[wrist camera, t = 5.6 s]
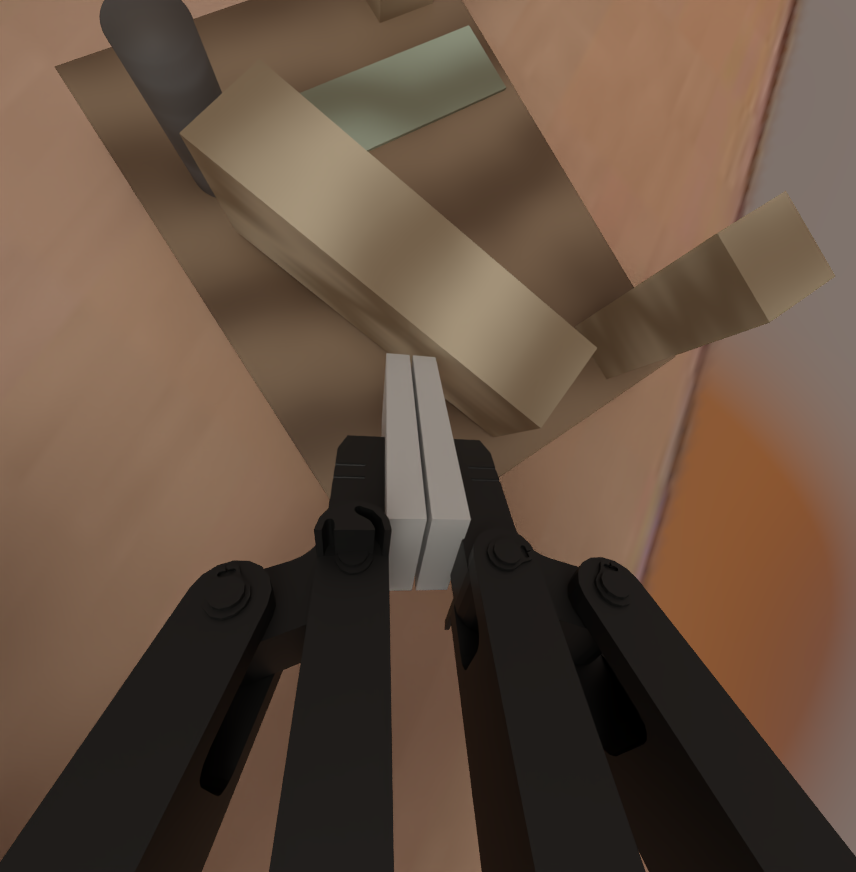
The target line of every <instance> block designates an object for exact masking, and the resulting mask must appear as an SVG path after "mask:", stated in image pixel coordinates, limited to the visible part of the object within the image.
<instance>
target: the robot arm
mask: <svg viewBox="0 0 856 872" xmlns="http://www.w3.org/2000/svg"><path fill="white" fill-rule="evenodd" d="M314 534H315V543H316V545H315V546H314V547H313V548H312V549H311V550H310V551H309V552H307V553H306V554H304V555H303V556H301V557H299V558H296V559H294V560H292V561H289V562H285V563H282V564H279V565H275V566H272V567H269V568H265V569H263V568H262V566H260V565H257V564H255V563H253V562H250V561H231V562H228V563H224V564H221V565H217V566H216V567H214V568H213V569H211V570H209V571H208V572H206V573H204V574H203V575H202V576H201V577H200V578H199V579H198V580H197V581H196V582H195V583H194V584H193V585H192V586H191V587H190V588H189V590H188V591H187V593H186V594H185V596H184V597H183V598H182V600H181V601H180V603H179V604H178V606H177V607H176V609H175V610H174V611H173V613H172V614H171V616H170V617H169V619H168V620H167V622H166V623H165V625H164V626H163V627H162V629H161V630H160V632H159V633H158V635H157V636H156V638H155V639H154V640H153V642H152V643H151V645H150V646H149V648H148V649H147V651H146V652H145V653H144V655H143V656H142V658H141V659H140V661H139V662H138V664H137V665H136V666H135V668H134V669H133V671H132V672H131V674H130V675H129V677H128V678H127V679H126V681H125V682H124V684H123V685H122V687H121V688H120V690H119V691H118V692H117V694H116V695H115V697H114V698H113V700H112V701H111V703H110V704H109V706H108V707H107V708H106V710H105V711H104V713H103V714H102V716H101V717H100V719H99V720H98V721H97V723H96V724H95V726H94V727H93V729H92V730H91V732H90V733H89V734H88V736H87V737H86V739H85V740H84V742H83V743H82V745H81V746H80V747H79V749H78V750H77V752H76V753H75V755H74V756H73V758H72V759H71V760H70V762H69V763H68V765H67V766H66V768H65V769H64V771H63V772H62V773H61V775H60V776H59V778H58V779H57V781H56V782H55V784H54V785H53V787H52V788H51V789H50V791H49V792H48V794H47V795H46V797H45V798H44V800H43V801H42V802H41V804H40V805H39V807H38V808H37V810H36V811H35V813H34V814H33V815H32V817H31V818H30V820H29V821H28V823H27V824H26V826H25V827H24V828H23V830H22V831H21V833H20V834H19V836H18V837H17V839H16V840H15V841H14V843H13V844H12V846H11V847H10V849H9V850H8V852H7V853H6V854H5V856H4V857H3V859H2V860H1V862H0V872H202V870H203V867H204V865H205V862H206V860H207V857H208V855H209V852H210V850H211V847H212V845H213V842H214V840H215V837H216V835H217V832H218V830H219V827H220V825H221V822H222V820H223V818H224V815H225V813H226V810H227V808H228V805H229V803H230V800H231V798H232V795H233V793H234V790H235V788H236V785H237V783H238V780H239V778H240V775H241V773H242V770H243V768H244V765H245V763H246V761H247V758H248V756H249V753H250V751H251V748H252V746H253V743H254V741H255V738H256V736H257V733H258V731H259V728H260V726H261V723H262V721H263V718H264V716H265V713H266V711H267V708H268V706H269V704H270V701H271V699H272V696H273V694H274V691H275V689H276V686H277V684H278V681H279V679H280V676H281V674H282V671H283V670H284V669H287V668H289V667H291V666H294V665H296V664H299V663H301V665H300V672H299V678H298V685H297V691H296V698H295V705H294V711H293V718H292V724H291V731H290V737H289V744H288V751H287V757H286V764H285V770H284V777H283V784H282V790H281V797H280V803H279V810H278V817H277V823H276V830H275V836H274V843H273V850H272V856H271V863H270V869H269V872H394V851H393V790H392V728H391V666H390V604H389V591H402V590H412V586H413V581H414V577H415V585H416V590H447V588H448V585H449V583H450V580H451V584H452V591H453V601H452V603H451V606H450V609H449V611H448V614H447V617H446V619H445V630H449V629H450V626H452V634H453V642H454V650H455V658H456V667H457V675H458V683H459V691H460V699H461V707H462V715H463V723H464V731H465V739H466V747H467V755H468V763H469V771H470V779H471V788H472V796H473V804H474V812H475V820H476V828H477V836H478V844H479V852H480V860H481V868H482V872H645V869H644V866H643V863H642V860H641V857H642V858H643V860H644V863H645V864H646V867H647V869H648V871H649V872H856V857H855V855H854V854H853V853H852V852H851V850H850V849H849V848H848V846H847V845H846V844H845V842H844V841H843V840H842V839H841V838H840V836H839V835H838V834H837V832H836V831H835V830H834V828H833V827H832V826H831V825H830V823H829V822H828V821H827V820H826V818H825V817H824V816H823V814H822V813H821V812H820V811H819V810H818V808H817V807H816V806H815V804H814V803H813V802H812V801H811V799H810V798H809V797H808V795H807V794H806V793H805V792H804V790H803V789H802V788H801V786H800V785H799V784H798V783H797V781H796V780H795V779H794V778H793V776H792V775H791V774H790V773H789V771H788V770H787V769H786V768H785V766H784V765H783V764H782V762H781V761H780V760H779V759H778V757H777V756H776V755H775V754H774V752H773V751H772V750H771V748H770V747H769V746H768V745H767V743H766V742H765V741H764V739H763V738H762V737H761V736H760V734H759V733H758V732H757V731H756V729H755V728H754V727H753V726H752V724H751V723H750V722H749V720H748V719H747V718H746V717H745V715H744V714H743V713H742V712H741V710H740V709H739V708H738V706H737V705H736V704H735V703H734V701H733V700H732V699H731V698H730V696H729V695H728V694H727V692H726V691H725V690H724V689H723V687H722V686H721V685H720V684H719V682H718V681H717V680H716V678H715V677H714V676H713V675H712V673H711V672H710V671H709V669H708V668H707V667H706V666H705V664H704V663H703V662H702V661H701V659H700V658H699V657H698V656H697V654H696V653H695V652H694V650H693V649H692V648H691V647H690V645H689V644H688V643H687V641H686V640H685V639H684V638H683V636H682V635H681V634H680V633H679V631H678V630H677V629H676V627H675V626H674V625H673V624H672V622H671V621H670V620H669V619H668V617H667V616H666V615H665V613H664V612H663V611H662V610H661V608H660V607H659V606H658V605H657V603H656V602H655V601H654V599H653V598H652V597H651V596H650V594H649V593H648V592H647V591H646V589H645V588H644V587H643V585H642V584H641V583H640V582H639V580H638V579H637V578H636V577H635V576H634V575H633V574H632V573H631V572H630V571H629V570H628V569H626V568H625V567H623V566H622V565H620V564H618V563H617V562H615V561H612V560H609V559H606V558H603V557H597V558H589V559H588V560H586V561H584V562H583V563H582V564H581V565H580V566H579V567H577V566H573V565H570V564H567V563H563V562H560V561H557V560H554V559H550V558H548V557H545V556H543V555H540V554H539V553H537V552H536V551H534V550H533V548H532V546H531V545H530V544H529V543H528V542H527V541H526V540H525V539H524V538H523V537H522V536H521V535H519V534H518V533H517V531H516V529H515V526H514V523H513V520H512V517H511V514H510V511H509V508H508V505H507V502H506V499H505V496H504V492H503V489H502V486H501V483H500V482H499V477H498V474H497V471H496V470H495V465H494V462H493V459H492V455H491V453H490V452H489V450H488V449H487V448H486V447H485V446H484V445H483V443H482V442H481V441H480V440H466V439H453V435H452V431H451V426H450V421H449V417H448V412H447V408H446V403H445V398H444V394H443V389H442V385H441V380H440V376H439V371H438V366H437V362H436V357H428V356H416V355H413V357H412V366H411V363H410V355H404V354H391V353H386V366H385V381H384V395H383V410H382V437H377V436H355V435H347V437H346V438H345V439H344V440H343V442H342V443H341V444H340V445H339V447H338V449H337V455H336V462H335V468H334V475H333V482H332V488H331V495H330V501H329V508H328V510H327V511H326V512H324V513H323V514H322V515H321V516H320V517H319V519H318V522H317V524H316V526H315V529H314ZM639 853H640V854H639ZM640 855H641V857H640Z"/></svg>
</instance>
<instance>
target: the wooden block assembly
mask: <svg viewBox="0 0 856 872" xmlns="http://www.w3.org/2000/svg"><path fill="white" fill-rule="evenodd" d="M100 24H101V28H102V30H103V33H104V35H105V36H106V38H107V40H108V41H109V43H110V45H111V46H112V47H110V48H108V49H105V50H102V51H99V52H96V53H93V54H90V55H87V56H84V57H81V58H78V59H75V60H72V61H69V62H67V63H64V64H61V65H58V66H55V68H56V70H57V71H58V73H59V75H60V76H61V78H62V79H63V81H64V82H65V84H66V86H67V87H68V89H69V90H70V92H71V93H72V95H73V97H74V98H75V100H76V101H77V103H78V104H79V106H80V108H81V109H82V111H83V112H84V114H85V115H86V117H87V119H88V120H89V122H90V123H91V125H92V126H93V128H94V130H95V131H96V133H97V134H98V136H99V137H100V139H101V141H102V142H103V144H104V145H105V147H106V148H107V150H108V152H109V153H110V155H111V156H112V158H113V159H114V161H115V163H116V164H117V166H118V167H119V169H120V170H121V172H122V174H123V175H124V177H125V178H126V180H127V181H128V183H129V185H130V186H131V188H132V189H133V191H134V192H135V194H136V196H137V197H138V199H139V200H140V202H141V203H142V205H143V207H144V208H145V210H146V211H147V213H148V214H149V216H150V218H151V219H152V221H153V222H154V224H155V225H156V227H157V229H158V230H159V232H160V233H161V235H162V236H163V238H164V240H165V241H166V243H167V244H168V246H169V247H170V249H171V251H172V252H173V254H174V255H175V257H176V259H177V260H178V262H179V263H180V265H181V266H182V268H183V270H184V271H185V273H186V274H187V276H188V277H189V279H190V281H191V282H192V284H193V285H194V287H195V288H196V290H197V292H198V293H199V295H200V296H201V298H202V299H203V301H204V303H205V304H206V306H207V307H208V309H209V310H210V312H211V314H212V315H213V317H214V318H215V320H216V321H217V323H218V325H219V326H220V328H221V329H222V331H223V332H224V334H225V336H226V337H227V339H228V340H229V342H230V343H231V345H232V347H233V348H234V350H235V351H236V353H237V354H238V356H239V358H240V359H241V361H242V362H243V364H244V365H245V367H246V369H247V370H248V372H249V373H250V375H251V376H252V378H253V380H254V381H255V383H256V384H257V386H258V387H259V389H260V391H261V392H262V394H263V395H264V397H265V398H266V400H267V402H268V403H269V405H270V406H271V408H272V409H273V411H274V413H275V414H276V416H277V417H278V419H279V420H280V422H281V424H282V425H283V427H284V428H285V430H286V431H287V433H288V435H289V436H290V438H291V439H292V441H293V442H294V444H295V446H296V447H297V449H298V450H299V452H300V453H301V455H302V457H303V458H304V460H305V461H306V463H307V464H308V466H309V468H310V469H311V471H312V472H313V474H314V475H315V477H316V479H317V480H318V482H319V483H320V485H321V486H322V488H323V490H324V491H325V493H326V494H327V496H328V497H329V499H330V495H331V488H332V482H333V475H334V468H335V462H336V455H337V449H338V447H339V445H340V444H341V443H342V442H343V440H344V439H345V438H346V437H347V435H355V436H377V437H382V410H383V395H384V381H385V366H386V353H388V352H386V351H385V350H384V349H383V348H381V347H380V346H379V345H378V344H376V343H375V342H374V341H373V340H371V339H370V338H369V337H368V336H366V335H365V334H364V333H363V332H361V331H360V330H359V329H358V328H356V327H355V326H354V325H353V324H351V323H350V322H349V321H348V320H346V319H345V318H344V317H343V316H341V315H340V314H339V313H338V312H336V311H335V310H334V309H333V308H331V307H330V306H329V305H328V304H326V303H325V302H324V301H323V300H321V299H320V298H319V297H318V296H316V295H315V294H314V293H313V292H311V291H310V290H309V289H308V288H306V287H305V286H304V285H303V284H301V283H300V282H299V281H298V280H296V279H295V278H294V277H293V276H291V275H290V274H289V273H288V272H286V271H285V270H284V269H283V268H282V267H280V266H279V265H278V264H277V263H275V262H274V261H273V260H272V259H270V258H269V257H268V256H267V255H265V254H264V253H263V252H262V251H260V250H259V249H258V248H257V247H255V246H254V245H253V244H252V243H250V242H249V241H248V240H247V239H245V238H244V237H243V236H242V235H240V234H239V233H238V232H237V231H235V229H234V228H233V226H232V224H231V223H230V221H229V219H228V217H227V216H226V214H225V212H224V210H223V209H222V207H221V205H220V203H219V202H218V200H217V198H216V196H215V195H214V193H213V191H212V190H211V188H210V186H209V184H208V183H207V181H206V179H205V177H204V176H203V174H202V172H201V170H200V169H199V167H198V165H197V164H196V162H195V160H194V158H193V157H192V155H191V153H190V151H189V150H188V148H187V146H186V144H185V143H184V141H183V139H182V137H181V136H180V134H179V133H180V132H181V131H182V130H183V129H184V128H185V127H186V126H187V125H189V124H190V123H191V122H192V121H193V120H194V119H195V118H196V117H197V116H198V115H199V114H200V113H201V112H203V111H204V110H205V109H206V108H207V107H208V106H209V105H210V104H211V103H212V102H213V101H214V100H215V99H217V98H218V97H219V96H220V95H221V94H222V93H223V92H224V91H225V90H226V89H227V88H228V87H229V86H231V85H232V84H233V83H234V82H235V81H236V80H237V79H238V78H239V77H240V76H241V75H242V74H244V73H245V72H246V71H247V70H248V69H249V68H250V67H251V66H252V65H253V64H254V63H255V62H256V61H258V60H259V59H260V60H261V61H263V62H264V63H265V64H266V65H267V66H268V67H270V68H271V69H272V70H273V71H274V72H275V73H277V74H278V75H279V76H280V77H281V78H282V79H284V80H285V81H286V82H287V83H288V84H289V85H291V86H292V87H293V88H294V89H295V90H296V91H298V92H299V93H300V94H301V95H302V96H303V97H305V98H306V99H307V100H308V101H309V102H310V103H312V104H313V105H314V106H315V107H316V108H317V109H319V110H320V111H321V112H322V113H323V114H324V115H326V116H327V117H328V118H329V119H330V120H331V121H333V122H334V123H335V124H336V125H337V126H339V127H340V128H341V129H342V130H343V131H344V132H346V133H347V134H348V135H349V136H350V137H351V138H353V139H354V140H355V141H356V142H357V143H358V144H360V145H361V146H362V147H363V148H364V149H365V150H367V151H368V152H369V153H370V154H371V155H372V156H374V157H375V158H376V159H377V160H378V161H379V162H381V163H382V164H383V165H384V166H385V167H386V168H388V169H389V170H390V171H391V172H392V173H393V174H395V175H396V176H397V177H398V178H399V179H400V180H402V181H403V182H404V183H405V184H406V185H407V186H409V187H410V188H411V189H412V190H413V191H414V192H416V193H417V194H418V195H419V196H420V197H422V198H423V199H424V200H425V201H426V202H427V203H429V204H430V205H431V206H432V207H433V208H434V209H436V210H437V211H438V212H439V213H440V214H441V215H443V216H444V217H445V218H446V219H447V220H448V221H450V222H451V223H452V224H453V225H454V226H455V227H457V228H458V229H459V230H460V231H461V232H462V233H464V234H465V235H466V236H467V237H468V238H469V239H471V240H472V241H473V242H474V243H475V244H476V245H478V246H479V247H480V248H481V249H482V250H483V251H485V252H486V253H487V254H488V255H489V256H490V257H492V258H493V259H494V260H495V261H496V262H497V263H499V264H500V265H501V266H502V267H503V268H505V269H506V270H507V271H508V272H509V273H510V274H512V275H513V276H514V277H515V278H516V279H517V280H519V281H520V282H521V283H522V284H523V285H524V286H526V287H527V288H528V289H529V290H530V291H531V292H533V293H534V294H535V295H536V296H537V297H538V298H540V299H541V300H542V301H543V302H544V303H545V304H547V305H548V306H549V307H550V308H551V309H552V310H554V311H555V312H556V313H557V314H558V315H559V316H561V317H562V318H563V319H564V320H565V321H566V322H568V323H569V324H570V325H571V326H572V327H573V328H575V329H576V330H577V331H578V332H579V333H580V334H582V335H583V336H584V337H585V338H586V339H588V340H589V341H590V342H591V343H592V344H593V345H595V346H596V347H597V349H596V351H595V352H594V354H593V355H592V356H591V358H590V359H589V361H588V362H587V363H586V365H585V366H584V368H583V369H582V371H581V372H580V373H579V375H578V376H577V378H576V379H575V381H574V382H573V383H572V385H571V386H570V388H569V389H568V390H567V392H566V393H565V395H564V396H563V398H562V399H561V400H560V402H559V403H558V405H557V406H556V407H555V409H554V410H553V412H552V413H551V415H550V416H549V417H548V419H547V420H546V422H545V423H544V424H543V426H542V427H541V428H539V429H534V430H529V431H524V432H519V433H514V434H509V435H504V436H498V437H493V436H491V435H490V434H489V433H488V432H486V431H485V430H484V429H483V428H481V427H480V426H479V425H478V424H476V423H475V422H474V421H473V420H471V419H470V418H469V417H468V416H466V415H465V414H464V413H463V412H461V411H460V410H459V409H458V408H456V407H455V406H454V405H453V404H451V403H450V402H449V401H448V400H446V399H445V403H446V408H447V412H448V417H449V421H450V426H451V431H452V435H453V439H466V440H480V441H481V442H482V443H483V445H484V446H485V447H486V448H487V449H488V450H489V452H490V453H491V455H492V459H493V462H494V465H495V470H496V471H497V474H498V477H500V476H501V475H503V474H504V473H506V472H507V471H509V470H510V469H512V468H513V467H515V466H516V465H518V464H519V463H520V462H522V461H523V460H525V459H526V458H528V457H529V456H531V455H532V454H534V453H535V452H537V451H538V450H540V449H541V448H542V447H544V446H545V445H547V444H548V443H550V442H551V441H553V440H554V439H556V438H557V437H559V436H560V435H562V434H563V433H564V432H566V431H567V430H569V429H570V428H572V427H573V426H575V425H576V424H578V423H579V422H581V421H582V420H583V419H585V418H586V417H588V416H589V415H591V414H592V413H594V412H595V411H597V410H598V409H600V408H601V407H603V406H604V405H605V404H607V403H608V402H610V401H611V400H613V399H614V398H616V397H617V396H619V395H620V394H622V393H623V392H624V391H626V390H627V389H629V388H630V387H632V386H633V385H635V384H636V383H638V382H639V381H641V380H642V379H644V378H645V377H646V376H648V375H649V374H651V373H652V372H654V371H655V370H657V369H658V368H660V367H661V366H663V365H664V364H665V363H667V362H668V361H670V360H671V359H673V358H674V357H675V355H678V354H680V353H683V352H686V351H689V350H692V349H695V348H698V347H701V346H703V345H706V344H709V343H712V342H715V341H718V340H721V339H724V338H727V337H729V336H732V335H735V334H738V333H741V332H744V331H747V330H749V329H752V328H755V327H758V326H761V325H764V324H767V323H770V322H771V321H773V320H774V319H775V318H777V317H778V316H780V315H781V314H782V313H784V312H785V311H787V310H788V309H790V308H791V307H792V306H794V305H795V304H797V303H798V302H800V301H801V300H802V299H804V298H805V297H807V296H808V295H809V294H811V293H812V292H814V291H815V290H817V289H818V288H819V287H821V286H822V285H824V284H825V283H826V282H828V281H829V280H830V279H832V278H834V277H835V275H834V273H833V271H832V270H831V268H830V266H829V264H828V263H827V261H826V259H825V257H824V256H823V254H822V252H821V250H820V249H819V247H818V245H817V244H816V242H815V241H814V238H813V237H812V235H811V233H810V232H809V230H808V228H807V226H806V225H805V223H804V221H803V220H802V218H801V216H800V214H799V213H798V211H797V209H796V207H795V206H794V204H793V202H792V201H791V199H790V197H789V196H788V194H787V192H786V191H785V192H783V193H782V194H780V195H778V196H777V197H775V198H774V199H772V200H770V201H769V202H767V203H766V204H764V205H762V206H761V207H759V208H757V209H756V210H754V211H753V212H751V213H749V214H748V215H746V216H744V217H743V218H741V219H740V220H738V221H736V222H735V223H733V224H731V225H730V226H728V227H727V228H725V229H723V230H722V231H720V232H718V233H717V234H715V235H714V236H712V237H711V238H709V239H708V240H706V241H705V242H703V243H702V244H700V245H699V246H697V247H696V248H694V249H692V250H691V251H689V252H688V253H686V254H685V255H683V256H682V257H680V258H679V259H677V260H676V261H674V262H673V263H671V264H670V265H668V266H667V267H665V268H663V269H662V270H660V271H659V272H657V273H656V274H654V275H653V276H651V277H650V278H648V279H647V280H645V281H644V282H642V283H641V284H639V285H638V286H636V287H633V285H632V284H631V282H630V280H629V279H628V277H627V275H626V274H625V272H624V270H623V269H622V267H621V265H620V264H619V262H618V260H617V259H616V257H615V255H614V254H613V252H612V250H611V249H610V247H609V245H608V244H607V242H606V240H605V239H604V237H603V235H602V233H601V232H600V230H599V228H598V227H597V225H596V223H595V222H594V220H593V218H592V217H591V215H590V213H589V212H588V210H587V208H586V207H585V205H584V203H583V202H582V200H581V198H580V197H579V195H578V193H577V192H576V190H575V188H574V187H573V185H572V183H571V182H570V180H569V178H568V177H567V175H566V173H565V172H564V170H563V168H562V167H561V165H560V163H559V162H558V160H557V158H556V157H555V155H554V153H553V152H552V150H551V148H550V147H549V145H548V143H547V142H546V140H545V138H544V137H543V135H542V133H541V132H540V130H539V128H538V127H537V125H536V123H535V122H534V120H533V118H532V117H531V115H530V113H529V112H528V110H527V108H526V106H525V105H524V103H523V101H522V100H521V98H520V96H519V95H518V93H517V91H516V90H515V88H514V86H513V85H512V83H511V81H510V80H509V78H508V76H507V75H506V73H505V71H504V70H503V68H502V66H501V65H500V63H499V61H498V60H497V58H496V56H495V55H494V53H493V51H492V50H491V48H490V46H489V45H488V43H487V41H486V40H485V38H484V36H483V35H482V33H481V31H480V30H479V28H478V26H477V25H476V23H475V21H474V20H473V18H472V16H471V15H470V13H469V11H468V10H467V8H466V6H465V5H464V3H463V1H462V0H248V1H245V2H242V3H239V4H236V5H233V6H230V7H228V8H225V9H222V10H219V11H216V12H213V13H210V14H207V15H204V16H201V17H198V18H195V19H193V18H192V15H191V13H190V11H189V10H188V8H187V7H186V5H185V4H184V3H183V2H182V1H181V0H104V2H103V4H102V6H101V10H100Z"/></svg>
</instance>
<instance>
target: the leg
mask: <svg viewBox="0 0 856 872" xmlns="http://www.w3.org/2000/svg"><path fill="white" fill-rule="evenodd" d="M179 134H180V136H181V137H182V139H183V141H184V143H185V144H186V146H187V148H188V150H189V151H190V153H191V155H192V157H193V158H194V160H195V162H196V164H197V165H198V167H199V169H200V170H201V172H202V174H203V176H204V177H205V179H206V181H207V183H208V184H209V186H210V188H211V190H212V191H213V193H214V195H215V196H216V198H217V200H218V202H219V203H220V205H221V207H222V209H223V210H224V212H225V214H226V216H227V217H228V219H229V221H230V223H231V224H232V226H233V228H234V229H235V231H237V232H238V233H239V234H240V235H242V236H243V237H244V238H245V239H247V240H248V241H249V242H250V243H252V244H253V245H254V246H255V247H257V248H258V249H259V250H260V251H262V252H263V253H264V254H265V255H267V256H268V257H269V258H270V259H272V260H273V261H274V262H275V263H277V264H278V265H279V266H280V267H282V268H283V269H284V270H285V271H286V272H288V273H289V274H290V275H291V276H293V277H294V278H295V279H296V280H298V281H299V282H300V283H301V284H303V285H304V286H305V287H306V288H308V289H309V290H310V291H311V292H313V293H314V294H315V295H316V296H318V297H319V298H320V299H321V300H323V301H324V302H325V303H326V304H328V305H329V306H330V307H331V308H333V309H334V310H335V311H336V312H338V313H339V314H340V315H341V316H343V317H344V318H345V319H346V320H348V321H349V322H350V323H351V324H353V325H354V326H355V327H356V328H358V329H359V330H360V331H361V332H363V333H364V334H365V335H366V336H368V337H369V338H370V339H371V340H373V341H374V342H375V343H376V344H378V345H379V346H380V347H381V348H383V349H384V350H385V351H386V352H388V353H391V354H404V355H410V363H411V366H412V357H413V355H416V356H428V357H436V362H437V366H438V371H439V376H440V380H441V385H442V389H443V394H444V398H445V399H446V400H448V401H449V402H450V403H451V404H453V405H454V406H455V407H456V408H458V409H459V410H460V411H461V412H463V413H464V414H465V415H466V416H468V417H469V418H470V419H471V420H473V421H474V422H475V423H476V424H478V425H479V426H480V427H481V428H483V429H484V430H485V431H486V432H488V433H489V434H490V435H491V436H493V437H498V436H504V435H509V434H514V433H519V432H524V431H529V430H534V429H539V428H541V427H542V426H543V424H544V423H545V422H546V420H547V419H548V417H549V416H550V415H551V413H552V412H553V410H554V409H555V407H556V406H557V405H558V403H559V402H560V400H561V399H562V398H563V396H564V395H565V393H566V392H567V390H568V389H569V388H570V386H571V385H572V383H573V382H574V381H575V379H576V378H577V376H578V375H579V373H580V372H581V371H582V369H583V368H584V366H585V365H586V363H587V362H588V361H589V359H590V358H591V356H592V355H593V354H594V352H595V351H596V349H597V347H596V346H595V345H593V344H592V343H591V342H590V341H589V340H588V339H586V338H585V337H584V336H583V335H582V334H580V333H579V332H578V331H577V330H576V329H575V328H573V327H572V326H571V325H570V324H569V323H568V322H566V321H565V320H564V319H563V318H562V317H561V316H559V315H558V314H557V313H556V312H555V311H554V310H552V309H551V308H550V307H549V306H548V305H547V304H545V303H544V302H543V301H542V300H541V299H540V298H538V297H537V296H536V295H535V294H534V293H533V292H531V291H530V290H529V289H528V288H527V287H526V286H524V285H523V284H522V283H521V282H520V281H519V280H517V279H516V278H515V277H514V276H513V275H512V274H510V273H509V272H508V271H507V270H506V269H505V268H503V267H502V266H501V265H500V264H499V263H497V262H496V261H495V260H494V259H493V258H492V257H490V256H489V255H488V254H487V253H486V252H485V251H483V250H482V249H481V248H480V247H479V246H478V245H476V244H475V243H474V242H473V241H472V240H471V239H469V238H468V237H467V236H466V235H465V234H464V233H462V232H461V231H460V230H459V229H458V228H457V227H455V226H454V225H453V224H452V223H451V222H450V221H448V220H447V219H446V218H445V217H444V216H443V215H441V214H440V213H439V212H438V211H437V210H436V209H434V208H433V207H432V206H431V205H430V204H429V203H427V202H426V201H425V200H424V199H423V198H422V197H420V196H419V195H418V194H417V193H416V192H414V191H413V190H412V189H411V188H410V187H409V186H407V185H406V184H405V183H404V182H403V181H402V180H400V179H399V178H398V177H397V176H396V175H395V174H393V173H392V172H391V171H390V170H389V169H388V168H386V167H385V166H384V165H383V164H382V163H381V162H379V161H378V160H377V159H376V158H375V157H374V156H372V155H371V154H370V153H369V152H368V151H367V150H365V149H364V148H363V147H362V146H361V145H360V144H358V143H357V142H356V141H355V140H354V139H353V138H351V137H350V136H349V135H348V134H347V133H346V132H344V131H343V130H342V129H341V128H340V127H339V126H337V125H336V124H335V123H334V122H333V121H331V120H330V119H329V118H328V117H327V116H326V115H324V114H323V113H322V112H321V111H320V110H319V109H317V108H316V107H315V106H314V105H313V104H312V103H310V102H309V101H308V100H307V99H306V98H305V97H303V96H302V95H301V94H300V93H299V92H298V91H296V90H295V89H294V88H293V87H292V86H291V85H289V84H288V83H287V82H286V81H285V80H284V79H282V78H281V77H280V76H279V75H278V74H277V73H275V72H274V71H273V70H272V69H271V68H270V67H268V66H267V65H266V64H265V63H264V62H263V61H261V60H260V59H259V60H258V61H256V62H255V63H254V64H253V65H252V66H251V67H250V68H249V69H248V70H247V71H246V72H245V73H244V74H242V75H241V76H240V77H239V78H238V79H237V80H236V81H235V82H234V83H233V84H232V85H231V86H229V87H228V88H227V89H226V90H225V91H224V92H223V93H222V94H221V95H220V96H219V97H218V98H217V99H215V100H214V101H213V102H212V103H211V104H210V105H209V106H208V107H207V108H206V109H205V110H204V111H203V112H201V113H200V114H199V115H198V116H197V117H196V118H195V119H194V120H193V121H192V122H191V123H190V124H189V125H187V126H186V127H185V128H184V129H183V130H182V131H181V132H180V133H179Z"/></svg>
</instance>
